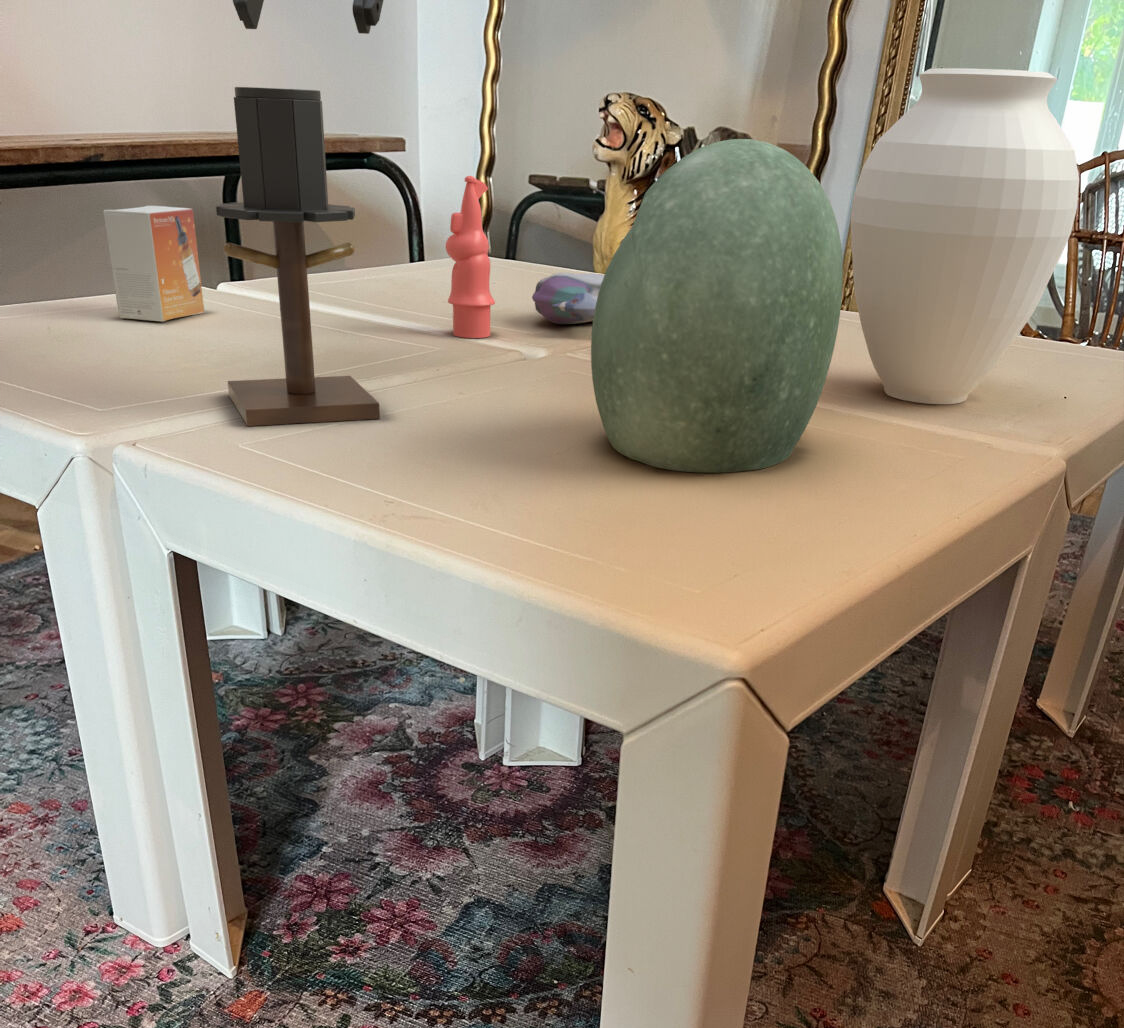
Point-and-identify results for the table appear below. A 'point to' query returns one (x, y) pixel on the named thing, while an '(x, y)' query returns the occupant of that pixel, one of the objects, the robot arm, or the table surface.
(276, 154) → the hat
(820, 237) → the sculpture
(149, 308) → the small box
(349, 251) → the coat stand
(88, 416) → the table surface
